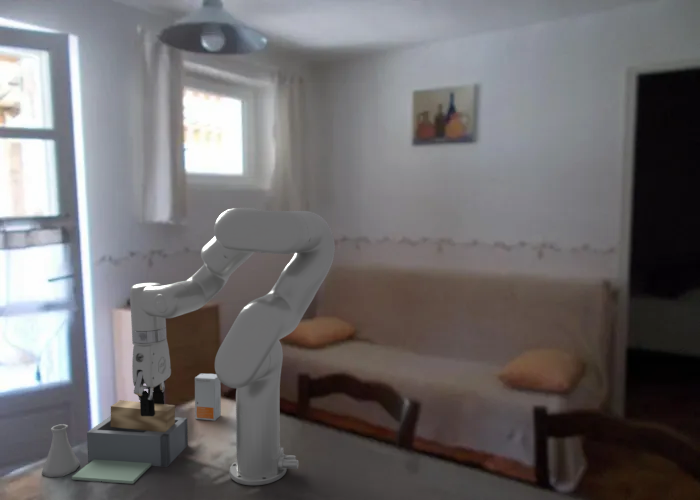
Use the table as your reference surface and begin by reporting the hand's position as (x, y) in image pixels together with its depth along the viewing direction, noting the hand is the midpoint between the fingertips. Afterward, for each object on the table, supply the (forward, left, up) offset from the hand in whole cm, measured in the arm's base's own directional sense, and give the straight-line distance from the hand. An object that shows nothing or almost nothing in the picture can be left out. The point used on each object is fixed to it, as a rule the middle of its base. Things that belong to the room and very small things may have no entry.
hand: (152, 411), depth 126 cm
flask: (+17, +10, -11) cm, 22 cm away
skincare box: (-4, -23, -11) cm, 26 cm away
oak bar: (+3, 0, -4) cm, 5 cm away
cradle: (+3, 0, -11) cm, 11 cm away
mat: (+5, +9, -11) cm, 15 cm away
